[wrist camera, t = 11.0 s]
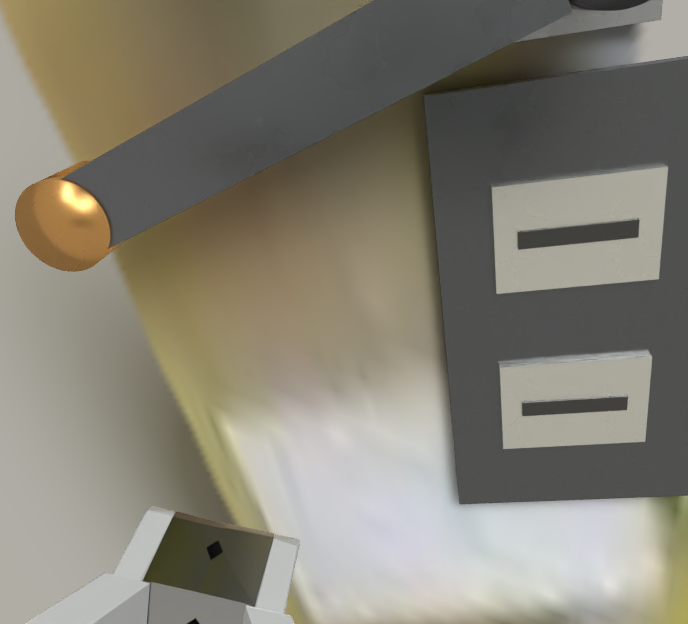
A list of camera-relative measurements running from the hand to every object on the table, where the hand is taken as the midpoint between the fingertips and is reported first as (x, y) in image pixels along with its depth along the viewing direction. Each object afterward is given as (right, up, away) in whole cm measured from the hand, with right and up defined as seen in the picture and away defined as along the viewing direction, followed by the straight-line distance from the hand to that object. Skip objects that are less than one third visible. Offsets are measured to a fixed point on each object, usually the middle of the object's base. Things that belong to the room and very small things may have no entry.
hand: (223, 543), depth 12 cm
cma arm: (+1, +13, +11) cm, 17 cm away
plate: (+13, +4, +17) cm, 22 cm away
